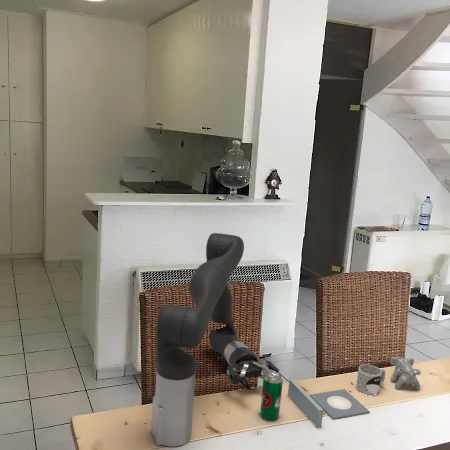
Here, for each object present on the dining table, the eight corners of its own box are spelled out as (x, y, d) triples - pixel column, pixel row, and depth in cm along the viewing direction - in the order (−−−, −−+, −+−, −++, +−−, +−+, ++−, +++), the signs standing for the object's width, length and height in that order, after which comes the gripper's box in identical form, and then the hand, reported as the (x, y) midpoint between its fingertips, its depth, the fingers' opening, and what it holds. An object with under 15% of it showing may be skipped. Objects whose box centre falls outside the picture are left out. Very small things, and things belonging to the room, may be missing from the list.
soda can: (277, 423, 131) (282, 381, 128) (258, 419, 132) (262, 378, 129) (279, 412, 136) (284, 372, 133) (261, 409, 137) (265, 369, 134)
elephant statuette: (400, 394, 151) (405, 372, 149) (375, 373, 161) (380, 351, 159) (424, 391, 154) (430, 368, 152) (398, 370, 165) (403, 349, 163)
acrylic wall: (317, 427, 130) (319, 410, 129) (287, 395, 145) (289, 379, 144) (321, 427, 131) (323, 409, 130) (291, 394, 145) (293, 379, 144)
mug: (367, 397, 147) (370, 377, 145) (351, 386, 152) (354, 366, 151) (391, 390, 152) (394, 370, 150) (374, 380, 157) (377, 360, 156)
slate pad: (332, 419, 134) (333, 417, 134) (309, 396, 145) (309, 394, 145) (369, 413, 139) (369, 411, 139) (344, 390, 150) (344, 388, 150)
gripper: (219, 348, 148) (241, 375, 133) (262, 344, 153) (288, 369, 138) (217, 372, 149) (238, 401, 135) (260, 366, 155) (285, 394, 140)
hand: (263, 385), depth 137 cm, fingers open, 8 cm apart
